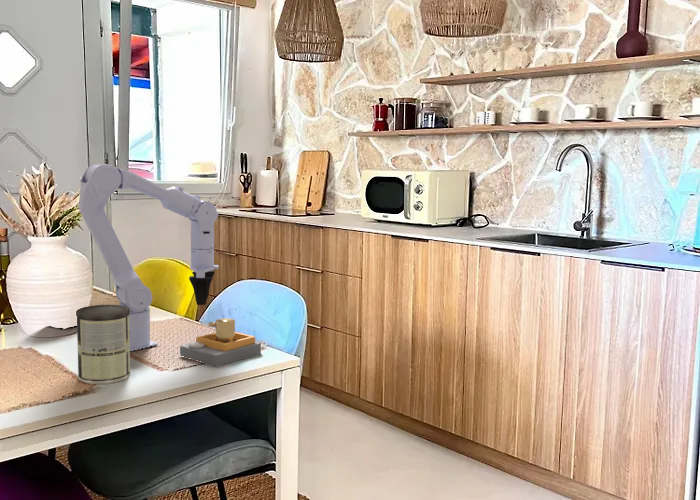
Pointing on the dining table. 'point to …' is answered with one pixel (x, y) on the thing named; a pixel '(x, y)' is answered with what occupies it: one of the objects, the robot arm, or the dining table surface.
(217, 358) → the grey base with frame
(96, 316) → the coffee can
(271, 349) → the dining table surface
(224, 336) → the spout can
